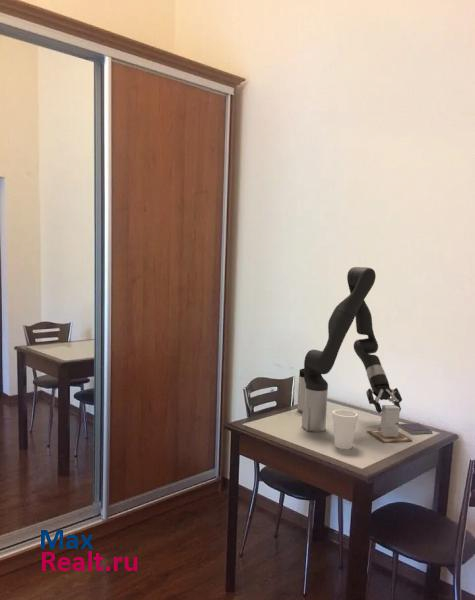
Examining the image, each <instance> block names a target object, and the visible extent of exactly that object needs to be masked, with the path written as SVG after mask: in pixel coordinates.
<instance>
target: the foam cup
mask: <svg viewBox="0 0 475 600" xmlns="http://www.w3.org/2000/svg"><path fill="white" fill-rule="evenodd" d="M331 416H332V417H331V418H332V423H333V438H334V446H335V447H336V448H338V449H341V450H350V449H352V447H353V443H354V438H355V437H354V436H355V434H356V433H355V432H356V427H357V423H358V420H359V419H358V417H359V414H358V413H357V412H356V411H354V410H350V409H334V410H332V415H331Z"/></svg>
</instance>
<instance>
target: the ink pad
mask: <svg viewBox="0 0 475 600" xmlns="http://www.w3.org/2000/svg"><path fill="white" fill-rule="evenodd" d="M398 428H400V429H402V430H403V431H405V432H407V433H408V434H410V435H424V434H433V430H432V429H431V428H428V426H425V425H424V424H421V423H419V422H411V423H410V422H409V423H399V427H398Z"/></svg>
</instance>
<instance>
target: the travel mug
mask: <svg viewBox="0 0 475 600" xmlns="http://www.w3.org/2000/svg"><path fill="white" fill-rule="evenodd" d="M305 391H306V383H305V380H304V368H301V369H299V376H298V392H297V394H298V396H297V412H298V413H302V414H303V405H304V404H305Z"/></svg>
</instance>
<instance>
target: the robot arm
mask: <svg viewBox="0 0 475 600" xmlns="http://www.w3.org/2000/svg"><path fill="white" fill-rule="evenodd" d="M346 275H347V277H346V280H347V285H348V289H349V292H350V294H349V295H348V296H346V297H345V298H344V299H343V300H342V301H341V302H339V303H338V305H336V307H335V308H334V310H333V312H331V315H330V317H329V319H328V324H327V331H328V332H327V333H328V339H327V342H326V345H325V346H324V348H323V350H317V349H311V350H308V352H307V353H306V354H305V357H304V361H303V369H304V380H305V383H306V391H305V404H304V405H303V413H302V417H301V418H302V419H301V427H302V428H303V429H305V431H307V432H315V433H316V432H319V433H321V432H324V431H325V430H326V428H327V427H326V425H327V409H328V408H327V406H328V390H329V383H328V381H327V380H326V379H324V377H323V375H327V374H329V373H330V372H331V370H332V369H333V367H334V366H335V361H336V359H337V357H338V354H339V352H340V349H341V346H342V344H343V342H344V340H345V337H346V336H347V333H348V332H349V329H350V328H351V326H352V323H353V322H354V320H355V329H356V333H357V334H358V335H360V336H361V335H363V336H367V338H361V339H356V340H355V341H354V343H353V350H354V352H355V354H356V355H357V356H358V358H359V359H360V361H361V362H362V364H363V367H364V368H365V372H366V376H367V379H368V383H369V385H370V388H368V389H367V390H366V396H367V400H368V403H369V404H370V405H374V407H375V411H376V412H377V413H378V414H382V405H381V403H380V402H379V401H389V402H391V403H392V405H396V406H398V407H399V408H400V412H401V410H402V408H401V405H400V403H401V402H402V401H403V398H402V396H401V393H400V391H399V389H398V388H397V387H395V388H394V389H391V387H390V382H389V380H388V376H387V375H386V372H385V370H384V367H383V366H382V363H381V360H380V358H379V356H377V355H376V353H377V352H378V350H379V344H378V341H377V338H376V336H375V334H374V329H373V318H372V313H371V311H370V308H369V306H368V304H367V303H366V300H365V299H366V297H367V296H368V294H369V293H370V291H371V289H372V288H373V286H374V284H375V282H376V277H377V276H376V272H375V270H374V269H373V268H372V267H361V266H354V267H351V268H350V269H348V271H347V274H346ZM374 396H375V398H374Z"/></svg>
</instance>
